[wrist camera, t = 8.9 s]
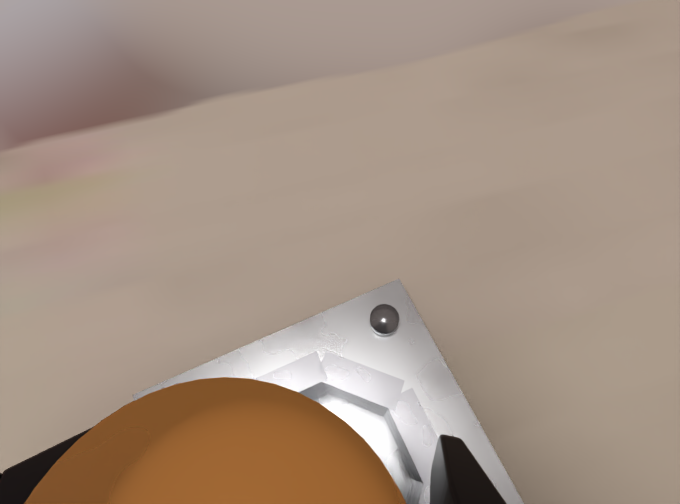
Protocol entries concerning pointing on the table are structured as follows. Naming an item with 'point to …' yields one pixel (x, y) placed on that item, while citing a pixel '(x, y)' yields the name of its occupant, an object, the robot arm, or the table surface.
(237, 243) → the table surface
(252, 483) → the copper-capped metal post
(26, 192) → the table surface
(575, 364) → the table surface
